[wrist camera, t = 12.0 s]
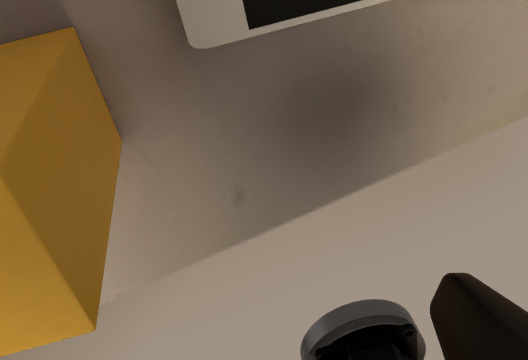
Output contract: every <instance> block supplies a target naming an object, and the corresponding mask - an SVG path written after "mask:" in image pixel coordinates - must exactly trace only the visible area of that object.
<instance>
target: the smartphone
mask: <svg viewBox="0 0 528 360" xmlns="http://www.w3.org/2000/svg"><path fill="white" fill-rule="evenodd" d="M387 1H390V0H176V2H177V6H178V9H179V12H180V16H181V19H182V22H183V26H184V29H185V32H186V36H187V39H188V42H189V44H190V46H191V47H194V48H196V49H206V48H212V47H216V46H220V45H224V44H227V43H231V42H235V41H239V40H242V39H246V38H250V37H254V36H258V35H261V34H265V33H269V32H273V31H277V30H280V29H284V28H288V27H292V26H296V25H299V24H303V23H307V22H311V21H315V20H318V19H322V18H326V17H330V16H333V15H337V14H341V13H345V12H349V11H352V10H356V9H360V8H364V7H368V6H371V5H375V4H379V3H383V2H387Z"/></svg>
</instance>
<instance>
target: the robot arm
mask: <svg viewBox="0 0 528 360" xmlns="http://www.w3.org/2000/svg"><path fill="white" fill-rule="evenodd" d="M430 315H431V319H432V322H433V325H434V328H435V331H436V334H437V337H438V340H439V342H440V346H441V349H442V352H443V355H444V358H445V360H528V312H527V311H525V310H523V309H522V308H521V307H519V306H517V305H516V304H514V303H513V302H511V301H510V300H508V299H507V298H505V297H504V296H502V295H501V294H499V293H498V292H496V291H495V290H493V289H491V288H490V287H489V286H487V285H485V284H484V283H482V282H481V281H479V280H478V279H476V278H474V277H473V276H472V275H470V274H467V273H448V274H446V275H445V276H444V277H443V278H442V280H441V283H440V284H439V287H438V289H437V291H436V293H435V296H434V297H433V300H432V302H431V305H430ZM314 355H315V360H418V359H417V330H416V328H415V326H414V325H413V324H412V323H407V324H403V325H399V326H396V327H392V328H389V329H385V330H382V331H378V332H374V333H371V334H367V335H364V336H360V337H356V338H353V339H349V340H346V341H342V342H338V343H335V344H331V345H328V346H324V347H321V348H318V349H317V350H316V351H315V352H314Z"/></svg>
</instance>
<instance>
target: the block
mask: <svg viewBox="0 0 528 360" xmlns="http://www.w3.org/2000/svg"><path fill="white" fill-rule="evenodd" d="M121 145H122V141H121V138H120V136H119V133H118V131H117V129H116V126H115V124H114V122H113V119H112V117H111V114H110V112H109V110H108V107H107V105H106V102H105V100H104V98H103V95H102V93H101V91H100V88H99V86H98V83H97V81H96V79H95V76H94V74H93V72H92V69H91V67H90V64H89V62H88V60H87V57H86V55H85V52H84V50H83V48H82V45H81V43H80V41H79V38H78V36H77V33H76V31H75V29H74V27H69V28H65V29H61V30H57V31H53V32H49V33H45V34H41V35H37V36H33V37H29V38H24V39H20V40H16V41H12V42H8V43H4V44H0V357H1V356H5V355H8V354H12V353H16V352H19V351H23V350H27V349H30V348H34V347H38V346H42V345H45V344H49V343H52V342H56V341H60V340H63V339H67V338H71V337H75V336H78V335H82V334H86V333H89V332H93V331H95V329H96V322H97V315H98V308H99V301H100V294H101V287H102V280H103V273H104V266H105V259H106V252H107V245H108V238H109V230H110V223H111V216H112V209H113V202H114V195H115V188H116V181H117V174H118V167H119V160H120V153H121Z"/></svg>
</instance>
